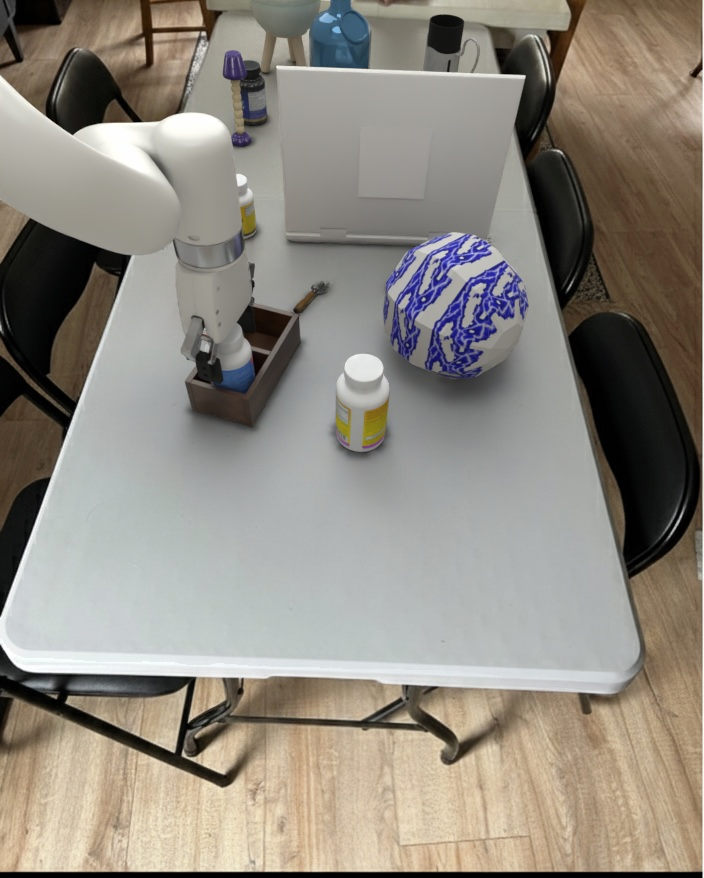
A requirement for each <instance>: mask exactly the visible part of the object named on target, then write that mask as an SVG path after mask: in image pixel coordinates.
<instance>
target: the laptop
mask: <svg viewBox="0 0 704 878" xmlns="http://www.w3.org/2000/svg"><path fill="white" fill-rule="evenodd" d="M275 68H276V69H275V70H276V85H277V101H278V103H277V104H278V115H279V119H278V120H279V133H280V136H279V137H280V150H281V151H280V153H281V167H282V169H281V170H282V183H283V185H282V186H283V198H284V199H283V202H284V216H285V217H284V218H285V219H284V220H285V238H286V239H287V240H289V241H292V242H297V243H324V244H325V243H327V244H355V245H382V246H385V245H387V246H410V247H411V246H412V247H413V246H415V247H417V246H419V245H421V244H423V243H425V242H427V241H429V240H430V239H432V238H435V237H439V236H442V235H445V234H449V233H452V232H457V233H464V234H471V235H476V236H477V237H479V238H481V239H482V240H484V241H485V242H487V243H488V237H489V234H490V229H491V225H492V221H493V216H494V213H495V208H496V203H497V199H498V195H499V190H500V186H501V182H502V179H503V174H504V170H505V165H506V162H507V157H508V153H509V148H510V144H511V140H512V136H513V131H514V129H515V123H516V119H517V114H518V110H519V106H520V102H521V97H522V93H523V90H524V85H525V81H526V75H525V74H501V73H477V72H476V73H474V72H473V73H470V72H457V73H452V72H427V71H423V70H422V71H421V70H401V69H400V70H398V69H377V68H376V69H372V68H370V69H350V68H325V67H310V66H307V67H299V66H297V65H295V66H294V65H293V66H292V65H276V66H275Z"/></svg>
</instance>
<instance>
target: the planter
mask: <svg viewBox="0 0 704 878" xmlns="http://www.w3.org/2000/svg"><path fill="white" fill-rule="evenodd" d="M248 5H249V9H250V11H251V13H252V17H253V18H254V19H255V22H256V23H257V24H258V25H259V27H260V28H262V29H263V30H264V32H265V38H264V45H263V51H262V58H261V63H260V69H261V73H265V74H266V73H269V72H270V70H271V65H272V61H273V57H274V54H275V53H274V52H275V47H276V43H277V42H276V41H277V38H278V39H286V40H287V47H288V51H289V57H290V60H291V61H292V62H295V64H296V66H299V67H308V66H307V61H306V55H305V49H304V41H303V36H304V35H305V34H307V33H308V31H309V30H310V27H311V25H312V22H313V20H314V18H315V17H316V16H317V14H319V13H320V9H321V0H248Z"/></svg>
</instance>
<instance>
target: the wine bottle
mask: <svg viewBox="0 0 704 878" xmlns="http://www.w3.org/2000/svg"><path fill="white" fill-rule="evenodd" d="M352 1H353V0H329V6H328V8H326V9H324V10H322V11H319V13H318V14H317V16H316V17H315V18H314V20H313V22H312V25H311V27H310V28H309V30H308V45H309V46H308V49H309V50H308V53H309V55H308V56H309V57H308V58H309V67H325V68H350V69H371V50H372V26H371V24H370V22H369V20H367V18H366V17H365V16H364V15H363V14H361V12H359V11H358V10H356V9H355V8H354V7H353V5H352V3H353V2H352Z"/></svg>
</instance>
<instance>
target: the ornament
mask: <svg viewBox="0 0 704 878" xmlns="http://www.w3.org/2000/svg"><path fill="white" fill-rule="evenodd" d="M528 310H529V300H528V294H527V287H526V283H525V282H524V281H523V279H522V278H521V276H520V274H519V273H518V272H517V270H516V269H515V268H514V267H513V265H512V264H511V263H510V262H509V261H508V259H506V258H505V256H504V255H503V254H502V253H501V252H500V251H499V250H498V249H497V248H496V247H495V246H493V245H492V244H490V243H488V241H487V242H485V241H484V240H482V239H481V238H479V237H477V236H476V235H471V234H464V233H457V232H452V233H449V234H445V235H442V236H439V237H435V238H432V239H430V240H429V241H427V242H425V243H423V244H421V245H419V246H415V247H413V248H411V249H409V250H407V251H406V252H405V254H404V255H403V257H402V258H401V260H400V261H399V262H398V264H397V265H396V267H395V269H393V272H392V273H391V275H390V276H389V277H388V279H387V280H386V281H385V287H384V298H383V309H382V311H383V312H382V313H383V327H384V333H385V335H386V337H387V339H388V340H389V342H390V344H391V346H392V348H393V350H394V351H395V352H397V354H399V355H400V356H401V357H402V358H403V359H404V360H406V361H407V362H408V363H410V364H411V365H413V366H415V367H417V368H420V369H423V370H425V371H428V372H430V373H432V374H435V375H438V376H440V377H445V378H447V379H451V380H464V379H474V378H476V377H478V376H480V375H481V374H483V373H485V372H487V371H489V370H491V369H492V368H494V367H495V366H497V365H498V364H500V363H502V362H503V361H504V360H506V359H507V358H508V357H509V356H510V354H511V352H513V350H514V349H515V347H517V345H518V343H519V341H520V338H521V336H522V332H523V330H524V327H525V321H526V318H527V314H528Z"/></svg>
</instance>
